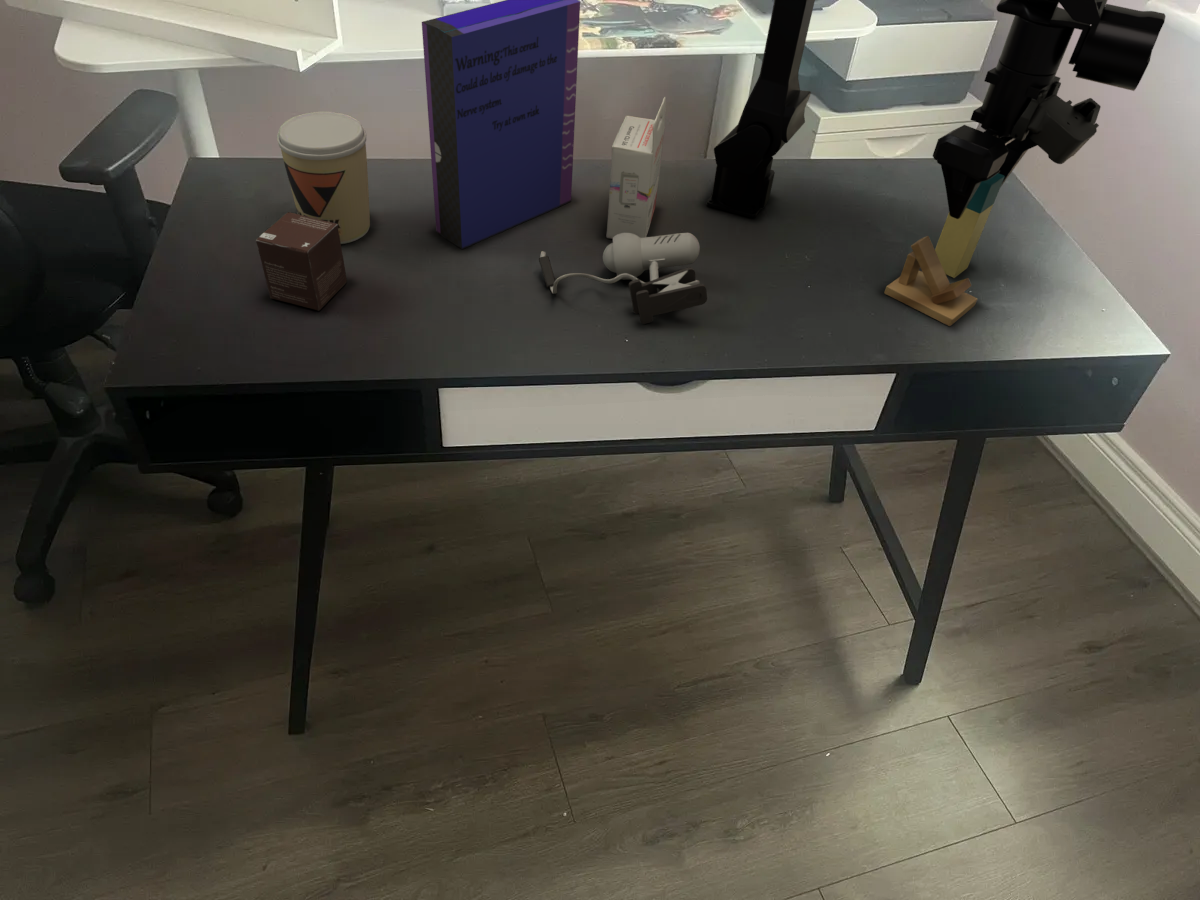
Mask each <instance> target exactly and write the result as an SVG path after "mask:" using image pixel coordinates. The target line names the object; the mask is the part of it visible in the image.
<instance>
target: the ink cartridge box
mask: <svg viewBox="0 0 1200 900" xmlns="http://www.w3.org/2000/svg"><path fill="white" fill-rule="evenodd" d="M666 110H667V98H666V96H664V97H663V98H662V101H661V105H660V107H659V109H658V112H657V113H656V117H655V119H650V118H644V117H637V116H632V115H625V117H624V119H623V121H622V124H621V125H620V128H619V130H618V131H617V134H616V135H615V139H614V141H613V143H612V144H611V160H610V176H609V194H608V195H609V196H608V209H607V223H606V224H607V225H606V236H605V237H606V239H612V240H613V237H614V236H615V235H617V234H620V233H632V234H635V235H637V236H639V237H640V238H645V237H648V233H649V230H650V227H651V223H652V221H653V217H654V214H655V213H654V212H655V210H656V204H657V196H658V188H659V187H658V186H659V179H660V172H661V164H662V163H661V162H662V154H663V147H664V138H665V131H666V130H665V129H666V114H667V112H666Z"/></svg>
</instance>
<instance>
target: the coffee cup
mask: <svg viewBox="0 0 1200 900" xmlns="http://www.w3.org/2000/svg"><path fill="white" fill-rule="evenodd" d="M276 141H277V145H278V147H279V149H280V152H281V156H282V160H283V164H284V167H285V171H286V175H287V179H288V182H289V187H290V190H291V194H292V198H293V201H294V206H295V209H296V212H297V213H296V214H299V215H303V216H307V217H311V218H315V219H319V220H323V221H327V222H332V223H336V224H338V231H339V235H340V242H341V245H344V244H350V243H353V242H355V241H357V240H359V239H361V238H363V237H365V236H366V234H367V233H368V232H369V230H370V228H371V218H370V217H371V216H370V215H371V213H370V212H371V211H370V195H369V193H370V192H369V173H368V158H367V157H368V156H367V145H366V144H367V132H366V130H365V128H364V127H363V124H362V123H361V122H360V121H359V120H358V119H356V118H355V117H353V116H351V115H348V114H346V113H341V112H334V111H312V112H306V113H302V114H299V115H295V116H293V117H291V118H288V119H287V120H286V121H284V122H283V123H282V124H281V125H280V127H279V129H278V133H277V136H276Z"/></svg>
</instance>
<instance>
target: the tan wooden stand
mask: <svg viewBox="0 0 1200 900" xmlns="http://www.w3.org/2000/svg"><path fill="white" fill-rule="evenodd" d="M910 248H911V250H912V251H911V252H909V253H908V254H907V256H906V259H905V262H904V264H903V267H902V270H901V273H900V276H899V277H897V278H896V279H895V280H893V281H892V282H891V283H889V284H888V285H886V287H885V290H884V295H886V296H888V297H891V298H892V299H894V300H896V301H898V302H900V303H902V304H904V305H906V306H908V307H910V308H912V309H914V310H916V311H918V312H919V313H922V314H924V315H926V316H927V317H930V318H932V319H934V320H936V321H938V322H940V323H942V324H944V325H946V326H948V327H951V326H952V325H954V324H955V323H956V322H957V321H958V320H959V319H960V318H962V317H963V316H964V315H965V314H967V313H968V312H969V311H971V309H972V308H974V307H975V306H976V304H977V302H978V298H977V297H976V296H973V295H971V294H969V293H967V292H966V291H967V290H968V289H970V288H971V287H972V284H971V280H970V278H969V277H966V278H964V279H961V280H957V281H955V282H951V283H950V280H949V279H948V275H946V274H945V272H944V270H943V267H942V265H941V263H940V261H939V258H938V256H937V254H936V252H935V247H934V245H933V243H932V241H931V238H930V236H929V235H927V236H924V237H922V238H920V239H918V240H917V241H916V242H914V243H912V244H911V245H910Z"/></svg>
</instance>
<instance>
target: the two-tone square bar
mask: <svg viewBox="0 0 1200 900" xmlns="http://www.w3.org/2000/svg"><path fill="white" fill-rule="evenodd" d="M1004 177H1005V176H1004V175H1002V174H999V173H998V174H996V175H995V176H993V177H992V178H990V179H989V180H987V181H982V182H981V183H980V185H979V187H978V188H977V190H976V192H975V194H974V195H973V197H972V199H971V201H970V202H969V204H968V206H967V208H966V209H965V211H964V212H963V214H962V216H961V217H960V218H959V219H955V218H953V217H951V216H950V214H949V213H947V217H946V219H945V221H944V225H943V227H942V230H941V233H940V236H939V238H938V240H937V243H936V246H935V247H934V249H935V252H936V254H937V256H938V258H939V261H940V263H941V265H942V267H943V270H944V272H945V274H946V276H949V277H950V278H953V279H956V278H957V277H958V276H959V275H961V274H962V273H963V272H964V271H965V270H967V269H968V267H969V265H970V262H971V261H972V258H973V256H974V253H975V251H976V248H977V246H978V243H979V240H980V238H981V236H982V234H983V231H984V228H985V226H986V224H987V221H988V219H989V217H990V214H991V211H992V209H993V207H994V204H995V202H996V199H997V197H998V194H999V192H1000V189H1001V187H1002V186H1003V185H1002V182H1003V180H1004ZM1001 185H1002V186H1001Z"/></svg>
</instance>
